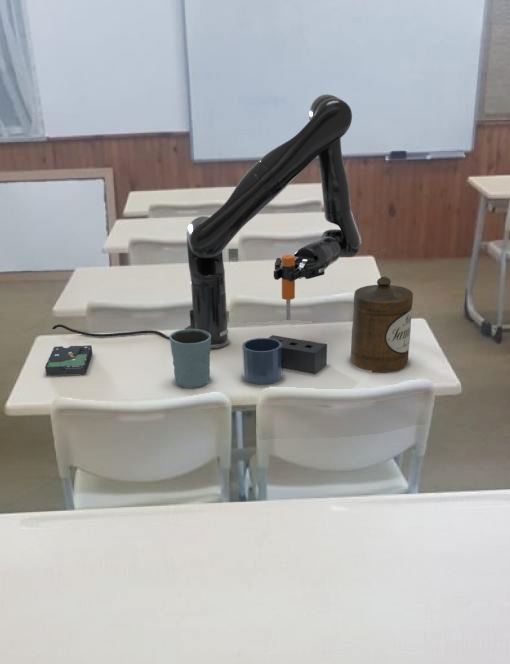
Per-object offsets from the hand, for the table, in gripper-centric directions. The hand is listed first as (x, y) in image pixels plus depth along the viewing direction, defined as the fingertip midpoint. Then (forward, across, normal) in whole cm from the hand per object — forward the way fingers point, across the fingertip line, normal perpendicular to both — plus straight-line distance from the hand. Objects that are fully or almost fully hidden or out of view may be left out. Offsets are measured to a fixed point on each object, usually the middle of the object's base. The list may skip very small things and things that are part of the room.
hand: (283, 276), depth 203 cm
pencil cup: (+6, -2, +24) cm, 25 cm away
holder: (-5, +1, +24) cm, 25 cm away
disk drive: (+20, -53, +25) cm, 62 cm away
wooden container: (-16, +20, +24) cm, 35 cm away
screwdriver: (-3, 0, +12) cm, 12 cm away
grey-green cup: (+15, -18, +25) cm, 34 cm away
